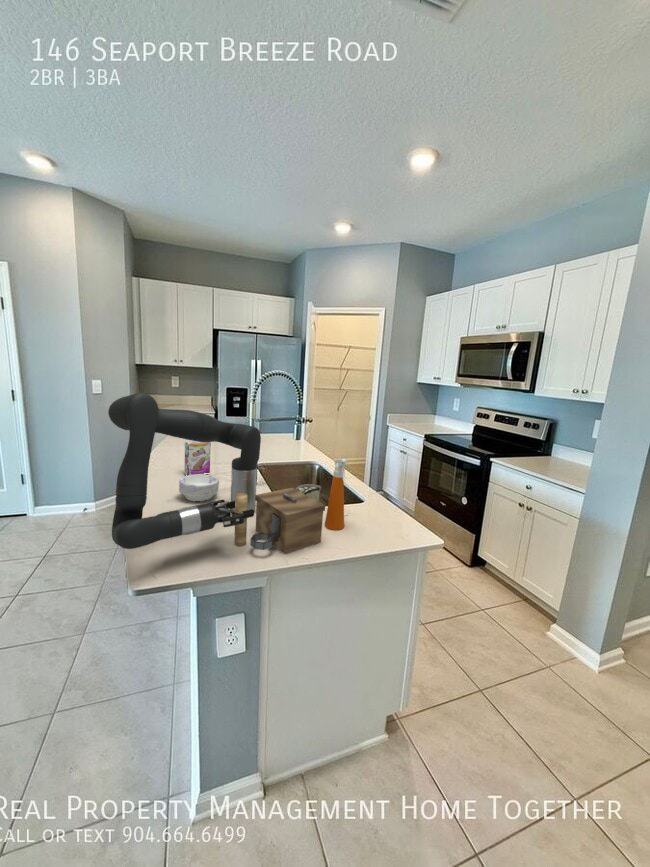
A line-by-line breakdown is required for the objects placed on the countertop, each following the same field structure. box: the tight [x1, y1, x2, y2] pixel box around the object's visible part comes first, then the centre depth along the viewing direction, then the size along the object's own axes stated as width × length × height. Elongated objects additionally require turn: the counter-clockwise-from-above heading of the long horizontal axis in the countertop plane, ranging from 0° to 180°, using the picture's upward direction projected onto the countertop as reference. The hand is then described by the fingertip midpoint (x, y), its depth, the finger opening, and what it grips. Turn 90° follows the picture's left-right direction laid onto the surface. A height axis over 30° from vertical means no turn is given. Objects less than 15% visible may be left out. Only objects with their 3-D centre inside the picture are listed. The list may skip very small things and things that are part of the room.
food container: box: [295, 483, 322, 502], centre depth 138 cm, size 12×6×10 cm, turn 141°
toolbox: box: [255, 487, 326, 555], centre depth 117 cm, size 19×15×14 cm
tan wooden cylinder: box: [234, 493, 248, 547], centre depth 110 cm, size 4×4×16 cm
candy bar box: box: [184, 441, 212, 476], centre depth 172 cm, size 11×5×16 cm, turn 130°
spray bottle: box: [324, 458, 348, 531], centre depth 124 cm, size 7×11×26 cm, turn 16°
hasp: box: [249, 514, 281, 551], centre depth 107 cm, size 7×8×8 cm
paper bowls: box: [178, 474, 220, 502], centre depth 145 cm, size 15×15×8 cm
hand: (246, 507), depth 110 cm, fingers open, 8 cm apart
